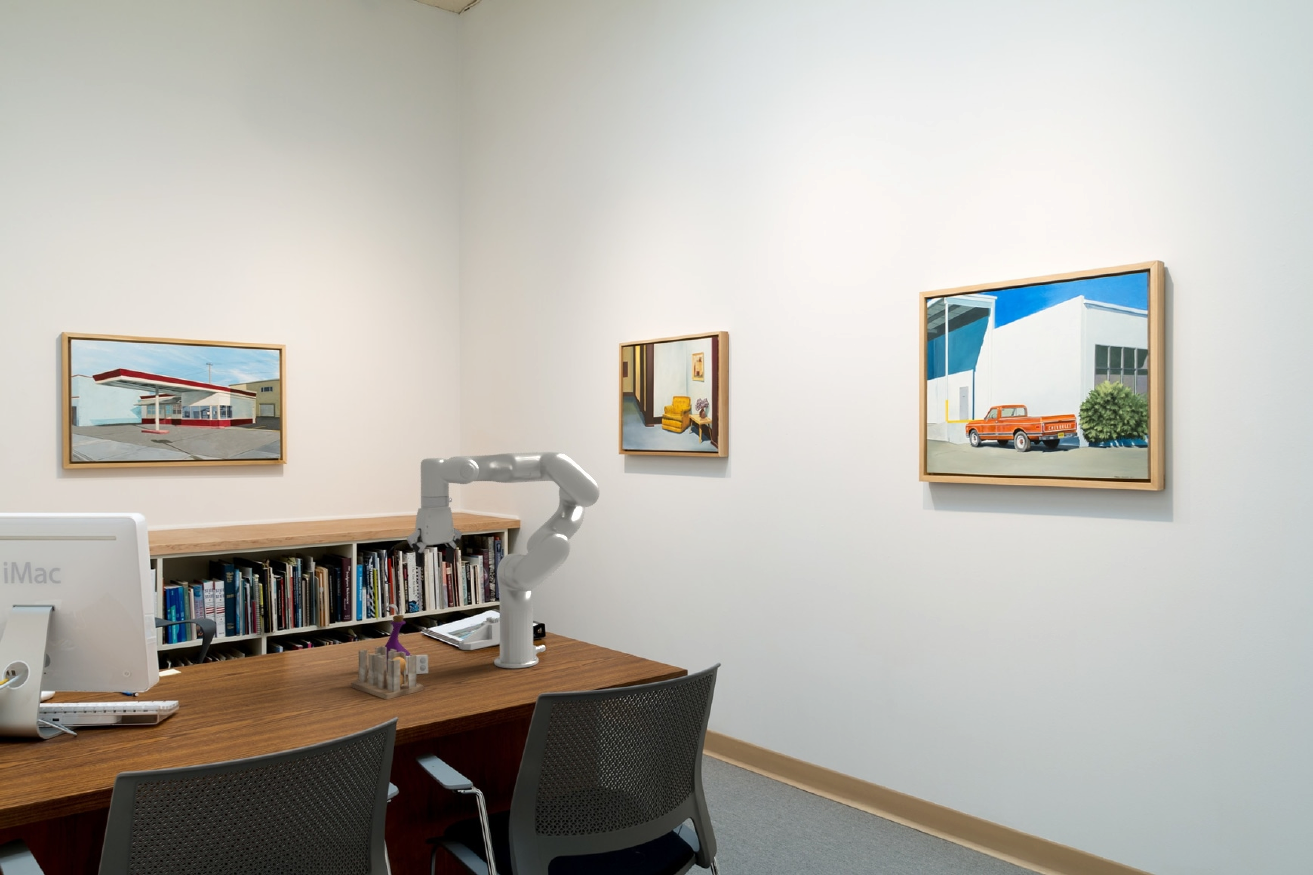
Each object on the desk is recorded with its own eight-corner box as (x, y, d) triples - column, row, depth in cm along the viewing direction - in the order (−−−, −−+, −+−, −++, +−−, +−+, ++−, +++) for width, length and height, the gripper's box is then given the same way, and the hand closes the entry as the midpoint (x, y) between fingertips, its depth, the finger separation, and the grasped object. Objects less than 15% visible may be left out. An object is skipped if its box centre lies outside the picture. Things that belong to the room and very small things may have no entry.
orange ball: (394, 678, 233) (400, 672, 237) (405, 668, 232) (411, 663, 236) (384, 665, 233) (390, 660, 237) (395, 656, 232) (401, 651, 236)
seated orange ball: (398, 679, 236) (395, 666, 234) (407, 685, 233) (404, 672, 232) (385, 687, 233) (382, 674, 231) (394, 693, 230) (391, 680, 229)
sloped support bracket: (456, 648, 280) (456, 622, 280) (503, 638, 293) (502, 613, 293) (466, 651, 276) (466, 625, 276) (513, 641, 290) (513, 616, 289)
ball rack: (387, 678, 246) (387, 644, 246) (424, 689, 235) (423, 654, 235) (350, 686, 238) (350, 651, 237) (386, 699, 226) (386, 662, 226)
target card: (398, 674, 249) (398, 656, 249) (428, 672, 251) (428, 654, 251) (398, 675, 249) (398, 657, 249) (428, 673, 251) (428, 655, 251)
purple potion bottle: (410, 664, 260) (410, 602, 260) (400, 671, 253) (400, 607, 252) (385, 664, 261) (385, 601, 261) (375, 670, 253) (374, 606, 253)
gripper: (452, 500, 258) (453, 560, 259) (399, 504, 245) (400, 567, 246) (468, 501, 253) (469, 562, 254) (415, 505, 240) (416, 569, 241)
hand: (435, 564), depth 250 cm, fingers open, 9 cm apart
